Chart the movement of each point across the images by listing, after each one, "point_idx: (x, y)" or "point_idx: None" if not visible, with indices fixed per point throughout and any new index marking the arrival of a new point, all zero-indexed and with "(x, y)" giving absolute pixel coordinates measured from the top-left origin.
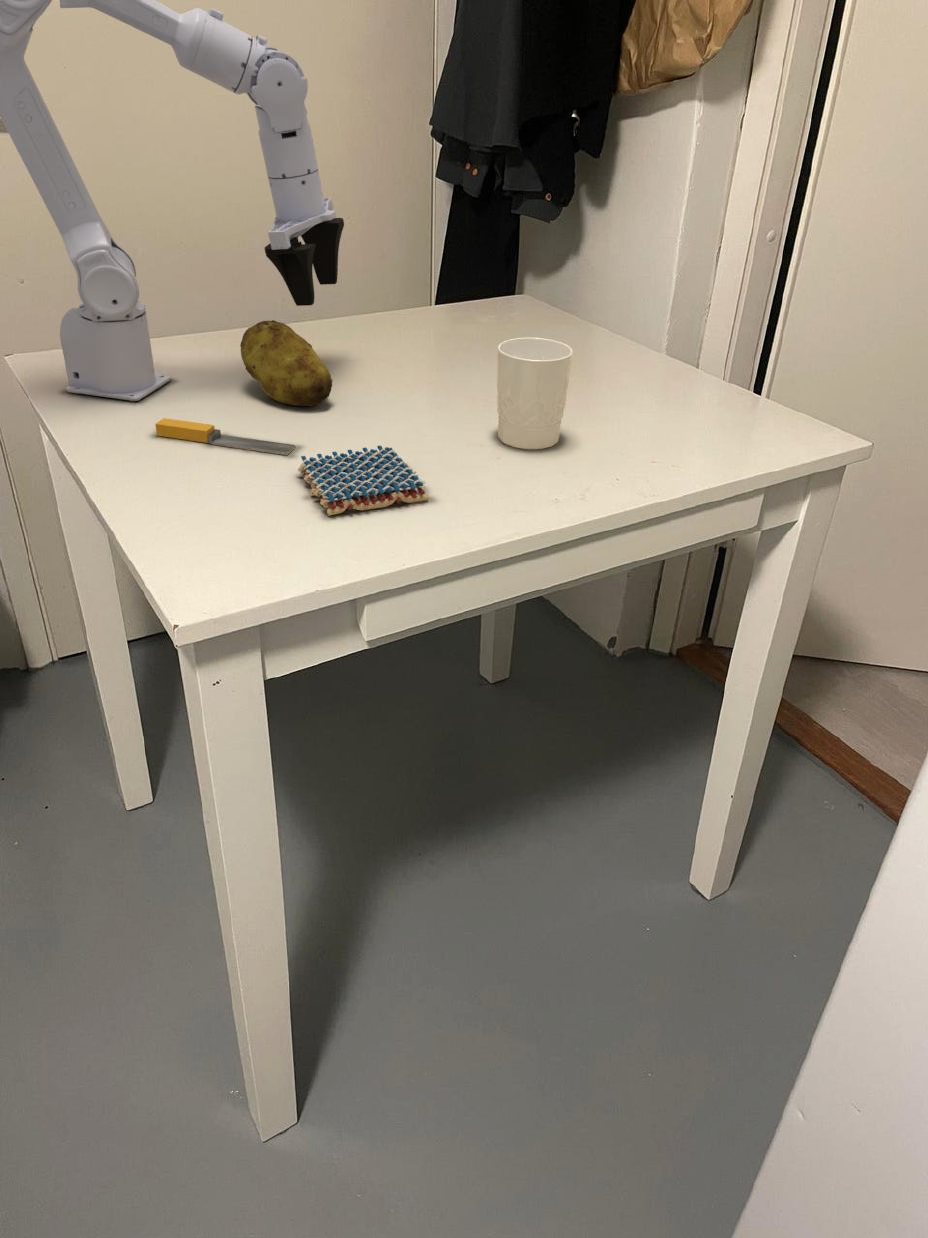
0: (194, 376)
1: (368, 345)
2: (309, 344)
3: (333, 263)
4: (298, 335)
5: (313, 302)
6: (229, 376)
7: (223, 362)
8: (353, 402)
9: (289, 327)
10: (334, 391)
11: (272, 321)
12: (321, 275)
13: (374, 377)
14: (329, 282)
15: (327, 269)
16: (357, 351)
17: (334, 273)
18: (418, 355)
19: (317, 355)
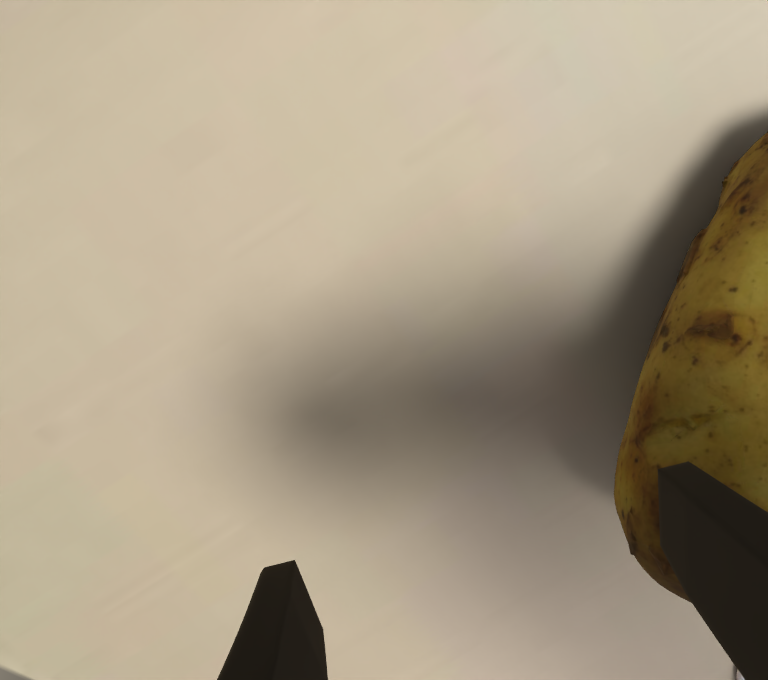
0: (667, 639)
1: (61, 393)
2: (732, 331)
3: (282, 669)
4: (743, 402)
5: (672, 468)
6: (620, 568)
7: (515, 648)
8: (665, 69)
9: (752, 464)
10: (586, 208)
11: None
12: (319, 664)
13: (362, 164)
14: (305, 594)
15: (302, 666)
16: (148, 388)
17: (288, 609)
18: (10, 158)
19: (758, 256)
